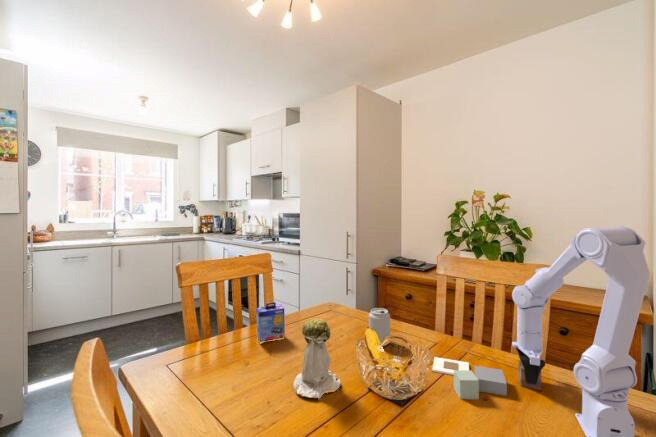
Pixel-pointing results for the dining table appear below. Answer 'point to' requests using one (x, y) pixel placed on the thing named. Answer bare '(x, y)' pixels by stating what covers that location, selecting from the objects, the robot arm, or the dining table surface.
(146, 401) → the dining table surface
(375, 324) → the can
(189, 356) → the dining table surface
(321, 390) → the grey statuette
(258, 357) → the dining table surface
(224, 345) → the dining table surface
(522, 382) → the walnut block
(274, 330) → the ink cartridge box
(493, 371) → the slate plinth
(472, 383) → the grey-green block
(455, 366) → the plaque
